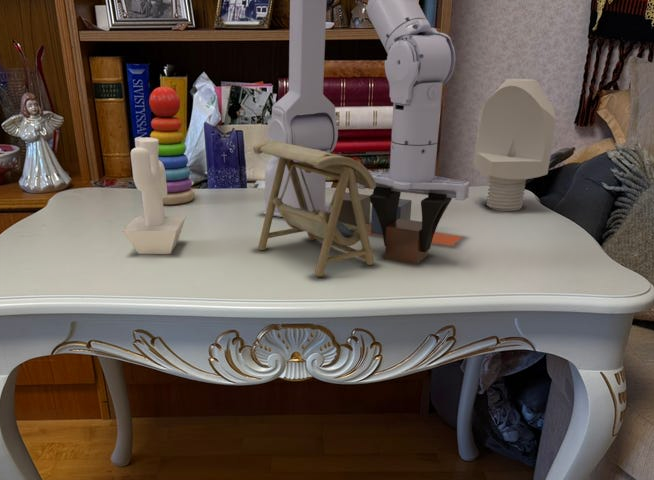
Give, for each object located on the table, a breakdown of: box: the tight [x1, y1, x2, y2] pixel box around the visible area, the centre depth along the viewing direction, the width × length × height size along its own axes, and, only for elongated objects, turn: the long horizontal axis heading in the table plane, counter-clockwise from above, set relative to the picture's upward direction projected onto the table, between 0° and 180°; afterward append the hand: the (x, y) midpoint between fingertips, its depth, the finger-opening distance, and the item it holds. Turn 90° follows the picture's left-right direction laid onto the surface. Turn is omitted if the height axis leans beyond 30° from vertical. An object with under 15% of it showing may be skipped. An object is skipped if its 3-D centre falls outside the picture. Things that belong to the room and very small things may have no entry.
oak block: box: [331, 191, 372, 226], centre depth 102 cm, size 4×4×4 cm
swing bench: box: [252, 141, 376, 278], centre depth 86 cm, size 15×10×15 cm, turn 34°
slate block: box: [370, 198, 413, 235], centre depth 99 cm, size 4×4×4 cm
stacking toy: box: [148, 86, 195, 206], centre depth 114 cm, size 8×8×19 cm
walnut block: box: [384, 219, 429, 265], centre depth 89 cm, size 4×4×4 cm
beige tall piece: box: [473, 78, 557, 212], centre depth 109 cm, size 9×9×20 cm
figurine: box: [122, 136, 187, 255], centre depth 90 cm, size 7×9×15 cm
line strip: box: [367, 223, 463, 247], centre depth 100 cm, size 21×5×1 cm, turn 61°
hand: (406, 247), depth 89 cm, fingers closed on walnut block, 4 cm apart
